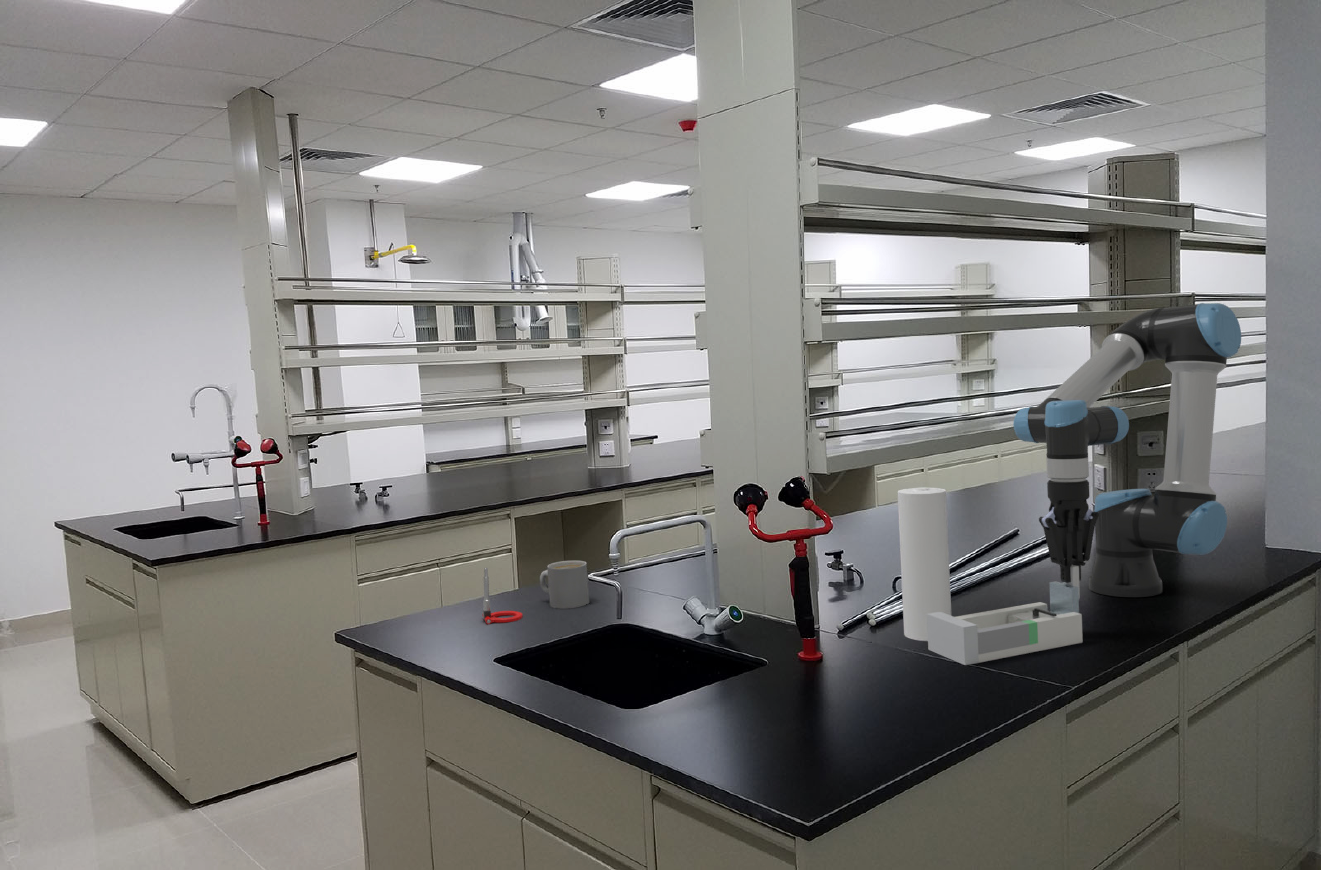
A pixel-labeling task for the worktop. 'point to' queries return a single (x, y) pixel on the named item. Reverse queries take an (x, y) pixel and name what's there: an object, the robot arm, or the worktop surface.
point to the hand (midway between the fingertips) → (1071, 597)
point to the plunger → (1053, 603)
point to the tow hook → (490, 616)
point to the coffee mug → (566, 584)
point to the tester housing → (1000, 634)
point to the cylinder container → (923, 557)
